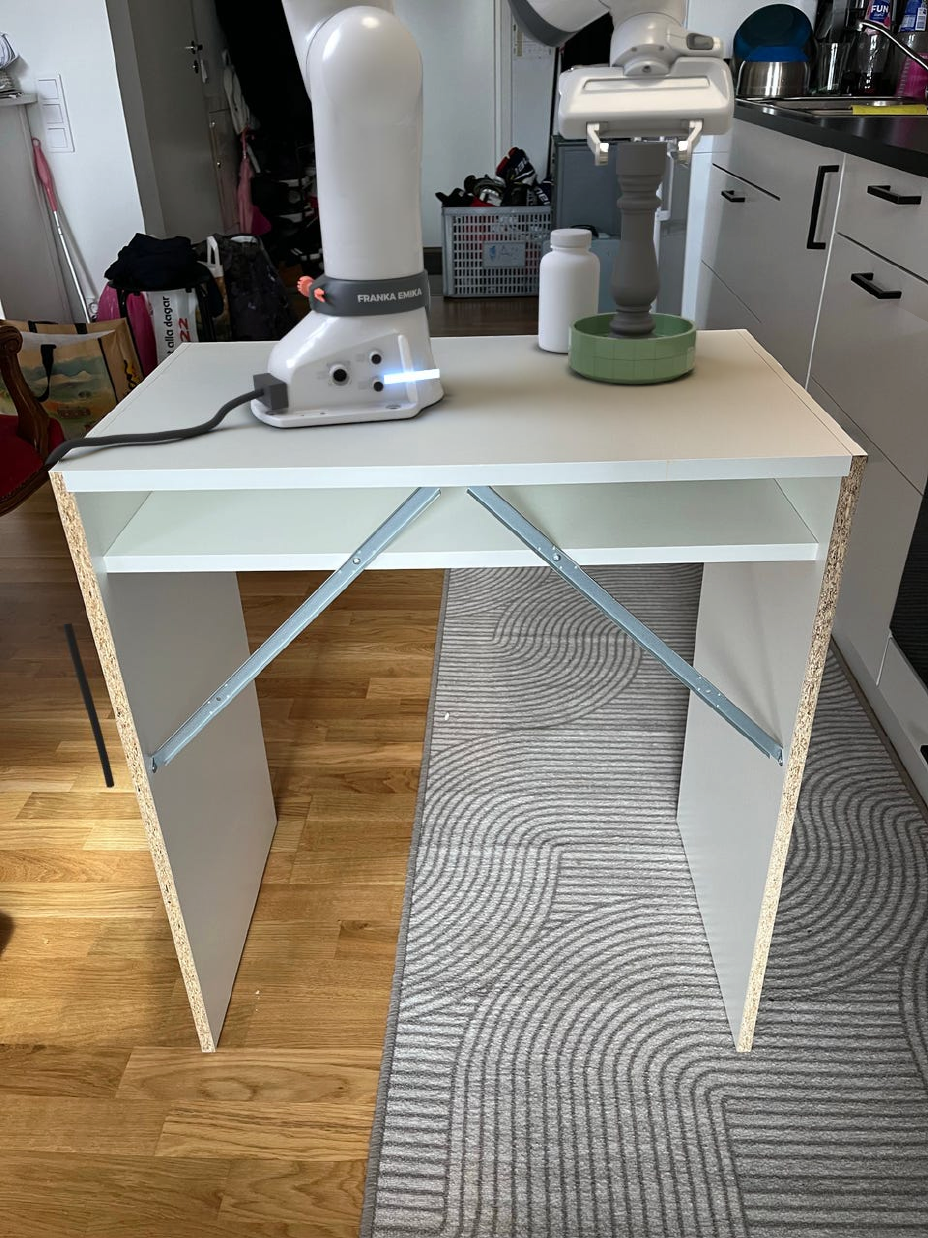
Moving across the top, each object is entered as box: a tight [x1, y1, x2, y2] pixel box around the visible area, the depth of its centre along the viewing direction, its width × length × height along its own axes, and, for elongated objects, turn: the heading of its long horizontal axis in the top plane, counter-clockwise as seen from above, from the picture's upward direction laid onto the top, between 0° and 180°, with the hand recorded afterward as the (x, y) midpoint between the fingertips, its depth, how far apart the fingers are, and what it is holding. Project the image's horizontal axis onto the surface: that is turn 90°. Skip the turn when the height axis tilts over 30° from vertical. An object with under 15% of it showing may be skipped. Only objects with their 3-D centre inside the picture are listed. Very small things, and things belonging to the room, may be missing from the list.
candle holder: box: [607, 140, 669, 339], centre depth 117 cm, size 6×6×25 cm
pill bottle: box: [538, 228, 601, 354], centre depth 131 cm, size 8×8×15 cm
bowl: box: [567, 311, 699, 385], centre depth 122 cm, size 16×16×6 cm
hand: (642, 160), depth 112 cm, fingers open, 8 cm apart
